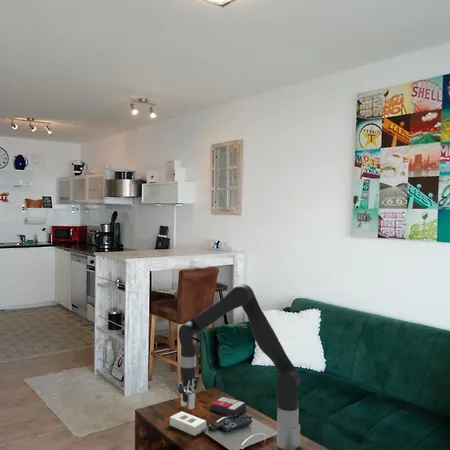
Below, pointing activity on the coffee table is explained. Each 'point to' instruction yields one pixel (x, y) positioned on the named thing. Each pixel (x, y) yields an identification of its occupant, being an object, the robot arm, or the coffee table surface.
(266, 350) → the robot arm
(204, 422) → the cream white box
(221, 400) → the dark red white box
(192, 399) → the clip
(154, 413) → the coffee table surface
